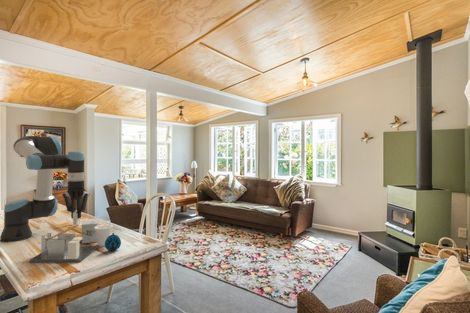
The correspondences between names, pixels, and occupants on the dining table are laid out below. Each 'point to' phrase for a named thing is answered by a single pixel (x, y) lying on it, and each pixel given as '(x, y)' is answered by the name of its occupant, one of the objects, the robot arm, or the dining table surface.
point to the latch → (74, 248)
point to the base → (65, 258)
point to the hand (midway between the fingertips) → (76, 224)
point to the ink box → (89, 231)
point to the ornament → (112, 242)
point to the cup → (102, 233)
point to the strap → (63, 232)
